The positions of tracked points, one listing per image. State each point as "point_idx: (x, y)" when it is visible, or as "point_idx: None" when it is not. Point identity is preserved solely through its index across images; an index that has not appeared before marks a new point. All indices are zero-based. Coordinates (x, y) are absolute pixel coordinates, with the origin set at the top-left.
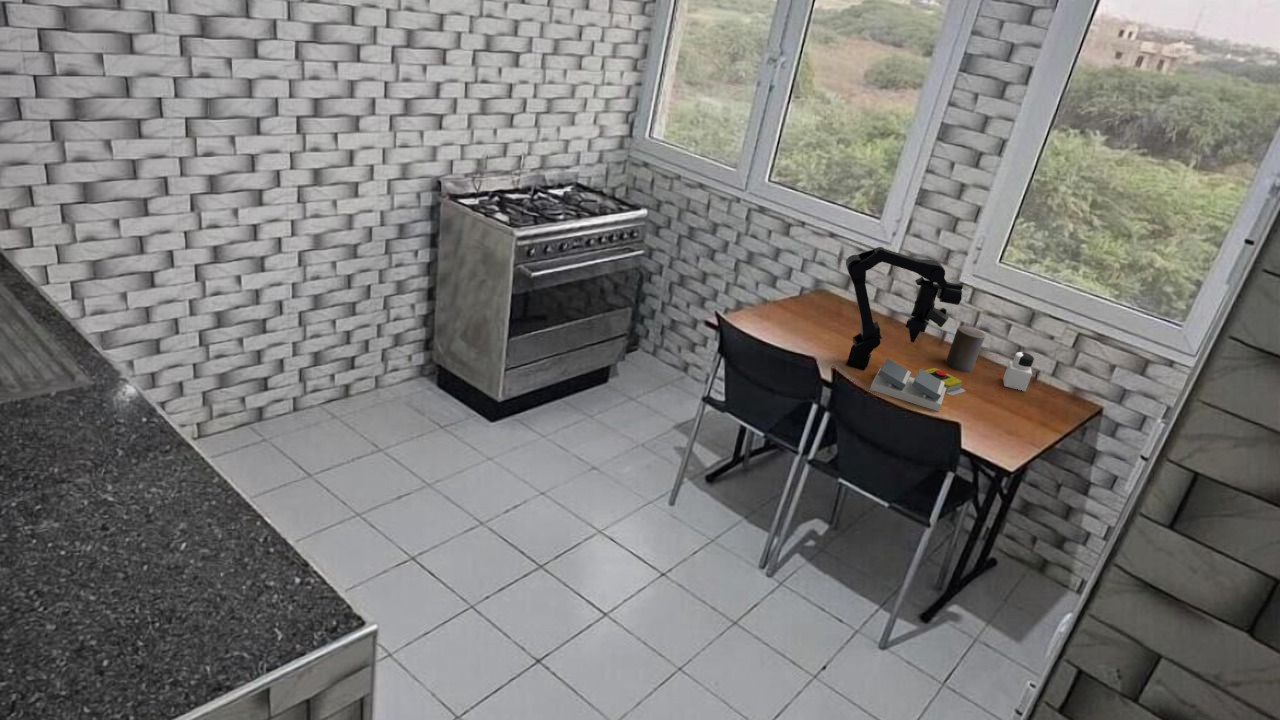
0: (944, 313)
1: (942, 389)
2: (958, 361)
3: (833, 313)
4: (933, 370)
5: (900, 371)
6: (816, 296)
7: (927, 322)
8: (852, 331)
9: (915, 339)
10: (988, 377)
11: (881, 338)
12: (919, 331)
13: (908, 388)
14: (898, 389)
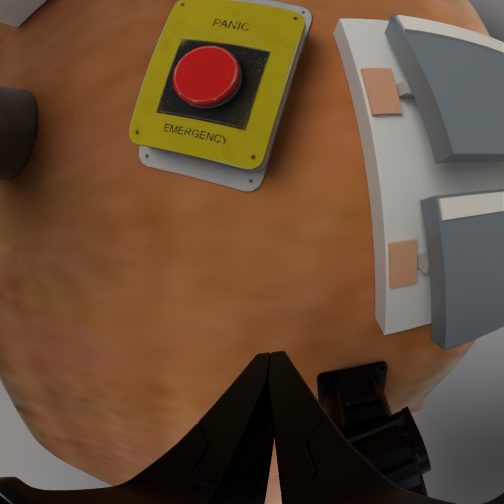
0: None
1: (476, 32)
2: (14, 118)
3: (85, 451)
4: (170, 128)
5: (492, 244)
6: (68, 461)
7: (1, 493)
8: (112, 431)
9: (297, 371)
10: (28, 43)
11: (415, 462)
12: (374, 472)
13: (494, 170)
14: None
